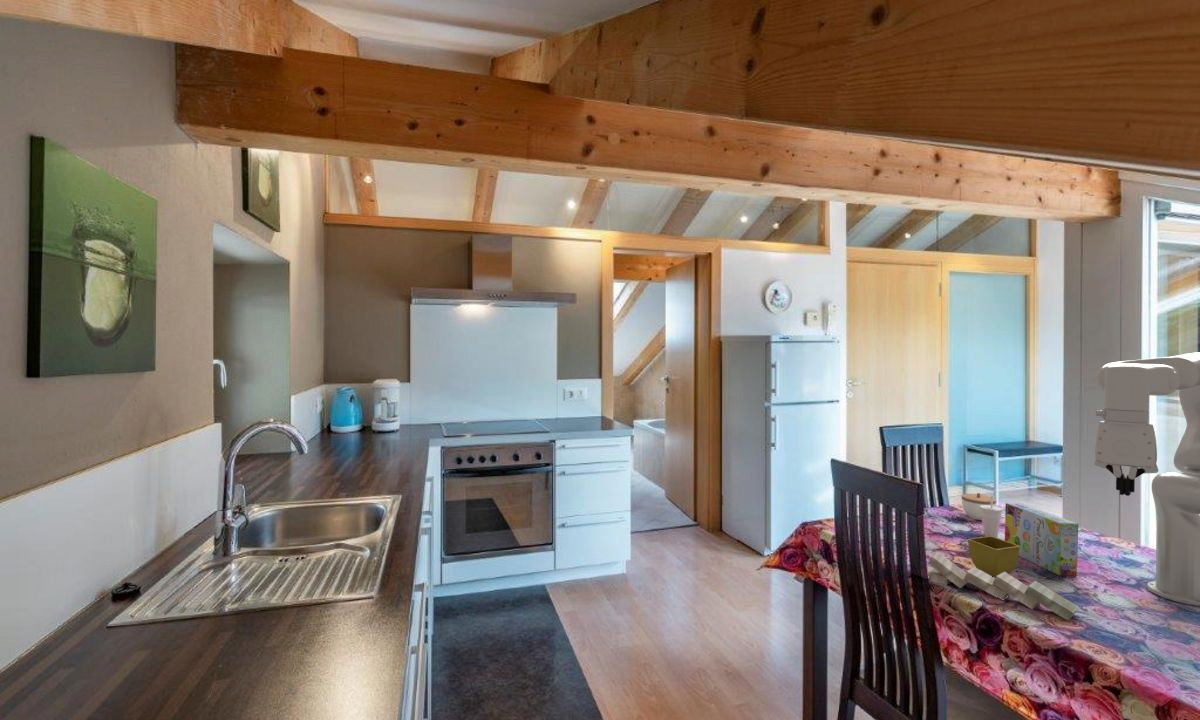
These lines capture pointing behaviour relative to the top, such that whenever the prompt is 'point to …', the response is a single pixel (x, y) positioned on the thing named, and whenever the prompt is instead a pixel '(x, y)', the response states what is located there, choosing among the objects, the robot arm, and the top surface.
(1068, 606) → the domino
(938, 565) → the domino
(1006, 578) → the domino
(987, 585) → the domino
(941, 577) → the domino
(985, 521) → the smoothie
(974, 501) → the lidded jar
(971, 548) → the flower pot
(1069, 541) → the snack box
